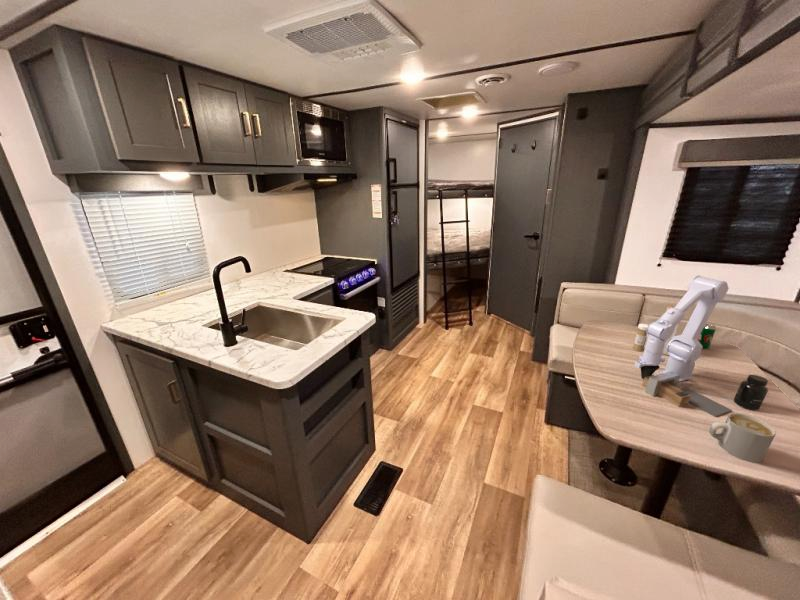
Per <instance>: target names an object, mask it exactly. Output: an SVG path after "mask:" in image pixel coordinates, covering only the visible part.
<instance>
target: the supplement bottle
mask: <svg viewBox="0 0 800 600" xmlns="http://www.w3.org/2000/svg"><path fill="white" fill-rule="evenodd" d="M768 383H769V380H768V379H767V378H765V377H763V376H760V375H757V374H749V375H748V376H747V377H746V379H745V380H742V381H741V382H740V384H739V386H738V388H737V391H736V393H735V395H734V398H733V402H734V403H735V404H736V405H737V406H739V407H740V408H743V409H746V410H750V411H759V410H760V408H761V406H762V404H763V402H764V401H765V398H766V397H767V394H768V392H769V389H768V387H767V385H768Z"/></svg>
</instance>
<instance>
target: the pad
mask: <svg viewBox="0 0 800 600" xmlns="http://www.w3.org/2000/svg"><path fill="white" fill-rule="evenodd" d="M679 389H680V390H682V391H685V392H687V393H689V395H691V396H690V399H689V402H688V404H690V405H692V406H694V407H696V408H698V409H700V410H702V411H703V412H705V413H707V414H709V415H711V416H713V417H719V416H722V415H725V414H729V413H731V412H732V411H733V409H731V408H729V407H727V406H725V405H723V404H721V403H719V402H717V401H715V400H712V399H710V398H709V397H707V396H705V395H703V394H701V393H699V392H697V391H695V390H693V389H691V388H689V387H687V386H683V387H681V388H680V387H679Z"/></svg>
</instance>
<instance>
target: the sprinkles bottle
mask: <svg viewBox="0 0 800 600" xmlns="http://www.w3.org/2000/svg"><path fill="white" fill-rule="evenodd" d="M648 325H649V324H646V323H639V324H638V326H637V331H636V334H635V338H634V342H633V346H632V349H633V350H635V351H638V352H644V349H645V346H646V342H647V339H648V338H647V337H646V336H647V332H646V328H647V327H648Z"/></svg>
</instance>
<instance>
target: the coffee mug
mask: <svg viewBox="0 0 800 600" xmlns="http://www.w3.org/2000/svg"><path fill="white" fill-rule="evenodd" d="M719 429H722V430H721V431H720V433H717V430H719ZM708 432H709V433H710V435H711V437H712V438H714V439H716V440H717V443H718V445H719V447H720V448H722V450H724V451H725V452H727V453H728V454H730V455H732V456H733V457H736V458H738V459H740V460H742V459H743V460H742V461H745V460H746V462H749V461H750V463H762V462H763V460H764V458H765V456H766V454H767V453H768V451H769V449H770V446H771V444H772V442H773V441H774V438H775V436H776V434H777V433H776V432H777V431H776V430H775V429H774V427H773V426H771V425H770V424H769V423H767V422H765V421H764V420H762V419H760V418H757V417H756V416H751V415H749V414H746V413H740V412H732V413H731V412H730V413H728V415H727V417H726V420H725V422H721V421H716V422H713V423H712V424H711V425H710V427H709V431H708Z"/></svg>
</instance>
